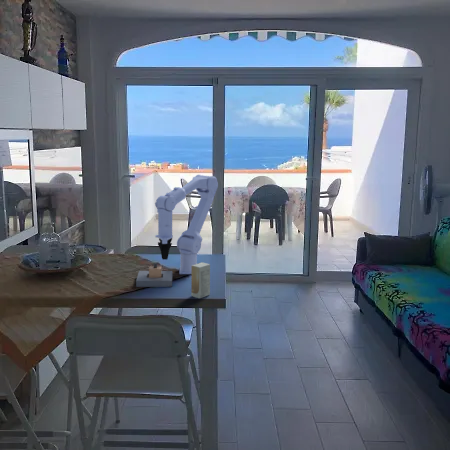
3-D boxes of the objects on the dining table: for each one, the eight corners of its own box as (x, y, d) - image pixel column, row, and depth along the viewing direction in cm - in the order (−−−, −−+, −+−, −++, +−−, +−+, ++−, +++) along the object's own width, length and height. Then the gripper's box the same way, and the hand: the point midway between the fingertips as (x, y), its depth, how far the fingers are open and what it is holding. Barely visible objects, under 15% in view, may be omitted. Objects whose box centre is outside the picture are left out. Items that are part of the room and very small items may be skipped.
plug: (149, 280, 200) (149, 262, 199) (161, 280, 201) (161, 262, 200) (148, 283, 196) (148, 265, 195) (161, 283, 197) (161, 265, 196)
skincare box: (201, 292, 186) (202, 261, 184) (210, 295, 184) (211, 263, 182) (190, 296, 182) (190, 264, 179) (198, 299, 179) (199, 267, 177)
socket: (139, 276, 205) (139, 270, 204) (172, 276, 206) (172, 270, 206) (136, 286, 191) (136, 280, 191) (171, 286, 192) (171, 280, 192)
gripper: (156, 221, 205) (156, 252, 208) (154, 228, 191) (154, 261, 194) (173, 221, 206) (172, 252, 209) (172, 228, 192) (172, 261, 194)
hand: (165, 257), depth 201 cm, fingers open, 7 cm apart
